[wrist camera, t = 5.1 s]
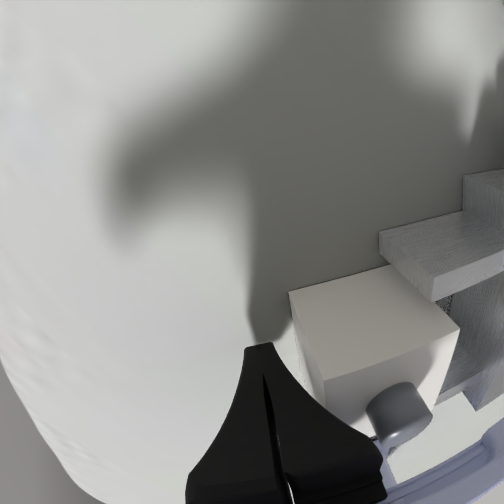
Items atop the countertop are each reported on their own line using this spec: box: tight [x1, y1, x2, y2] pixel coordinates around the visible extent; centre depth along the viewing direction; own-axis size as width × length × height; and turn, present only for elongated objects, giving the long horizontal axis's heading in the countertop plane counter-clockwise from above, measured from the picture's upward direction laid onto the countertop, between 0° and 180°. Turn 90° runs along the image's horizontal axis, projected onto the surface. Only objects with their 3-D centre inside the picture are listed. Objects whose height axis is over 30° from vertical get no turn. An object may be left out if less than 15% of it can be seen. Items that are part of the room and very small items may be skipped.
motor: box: [379, 169, 504, 411], centre depth 11 cm, size 15×12×5 cm
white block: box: [288, 264, 460, 448], centre depth 11 cm, size 5×5×6 cm
